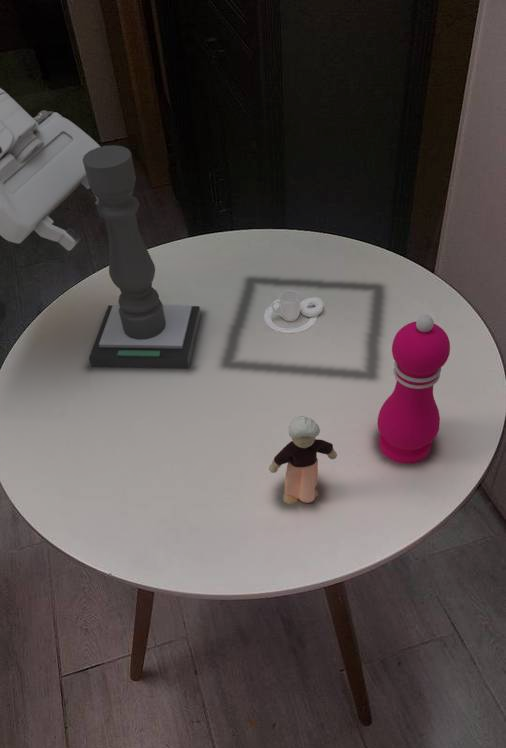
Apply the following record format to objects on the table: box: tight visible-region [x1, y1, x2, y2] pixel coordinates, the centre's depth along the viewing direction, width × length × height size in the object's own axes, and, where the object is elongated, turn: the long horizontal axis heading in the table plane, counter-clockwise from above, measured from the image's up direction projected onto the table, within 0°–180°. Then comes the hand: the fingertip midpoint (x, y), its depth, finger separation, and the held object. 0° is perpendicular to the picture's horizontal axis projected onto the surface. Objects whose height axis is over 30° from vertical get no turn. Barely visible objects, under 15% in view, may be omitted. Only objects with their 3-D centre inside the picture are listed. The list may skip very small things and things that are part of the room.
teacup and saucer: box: [263, 289, 325, 334], centre depth 101 cm, size 9×8×4 cm
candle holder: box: [83, 144, 166, 340], centre depth 89 cm, size 6×6×25 cm
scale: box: [88, 304, 202, 370], centre depth 99 cm, size 14×12×3 cm
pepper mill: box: [376, 314, 451, 464], centre depth 77 cm, size 7×7×20 cm
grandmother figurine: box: [268, 415, 338, 505], centre depth 76 cm, size 8×4×13 cm, turn 114°
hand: (93, 225), depth 87 cm, fingers open, 8 cm apart
